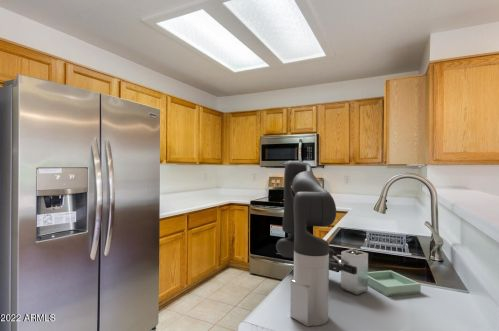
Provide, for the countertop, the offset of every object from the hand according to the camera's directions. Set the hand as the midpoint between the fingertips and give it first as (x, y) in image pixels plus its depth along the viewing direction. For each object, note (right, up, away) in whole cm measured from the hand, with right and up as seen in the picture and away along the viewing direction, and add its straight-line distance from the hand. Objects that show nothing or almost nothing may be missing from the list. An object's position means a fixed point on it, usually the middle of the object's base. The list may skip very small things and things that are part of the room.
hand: (361, 269), depth 88 cm
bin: (+12, -8, +5) cm, 15 cm away
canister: (-2, -7, +2) cm, 8 cm away
